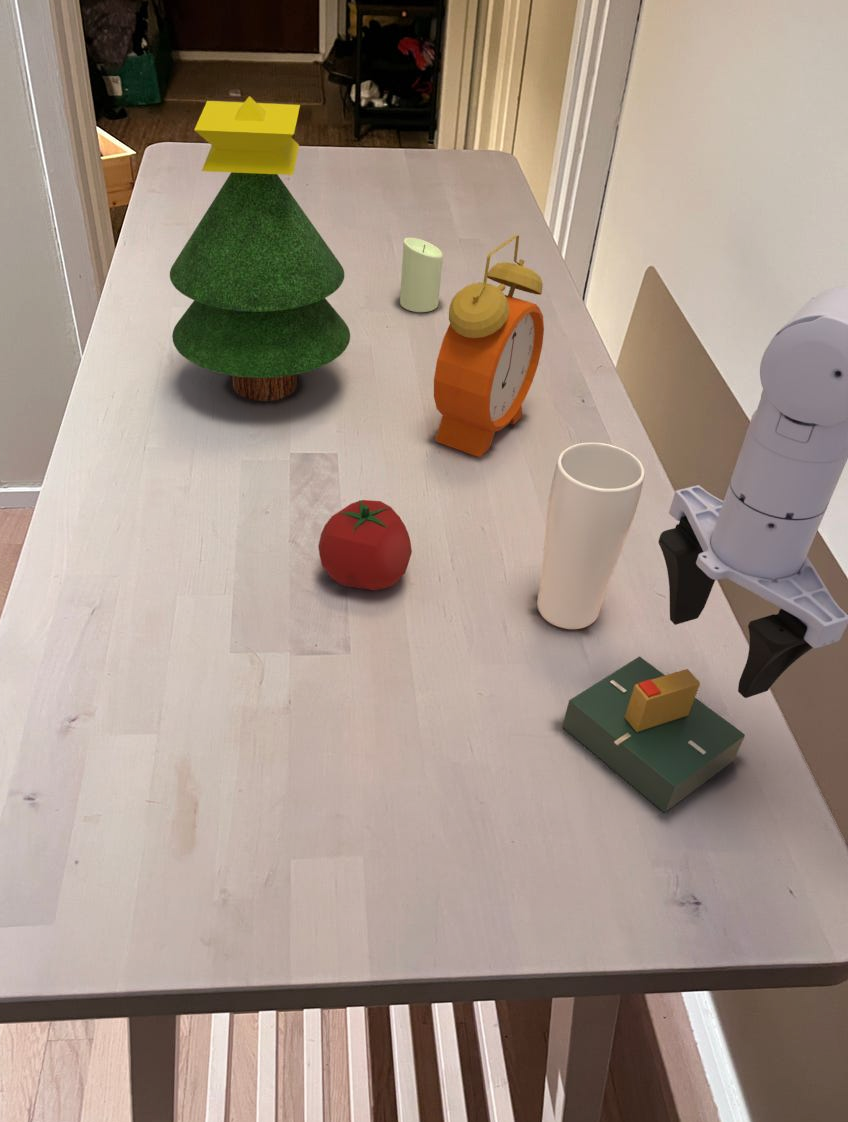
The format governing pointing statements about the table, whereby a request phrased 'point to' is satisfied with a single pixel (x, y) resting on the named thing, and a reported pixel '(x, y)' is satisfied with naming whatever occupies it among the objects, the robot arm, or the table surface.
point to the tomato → (365, 546)
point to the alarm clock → (488, 356)
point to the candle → (420, 275)
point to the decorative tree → (256, 261)
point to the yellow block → (661, 700)
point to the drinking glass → (586, 530)
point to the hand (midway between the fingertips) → (717, 653)
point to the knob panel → (651, 738)
